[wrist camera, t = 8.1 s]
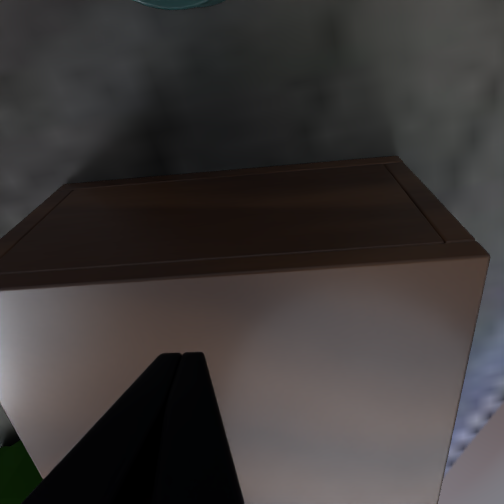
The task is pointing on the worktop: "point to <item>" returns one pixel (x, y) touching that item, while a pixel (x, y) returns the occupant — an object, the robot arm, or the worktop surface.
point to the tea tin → (178, 3)
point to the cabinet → (253, 319)
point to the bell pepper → (17, 474)
